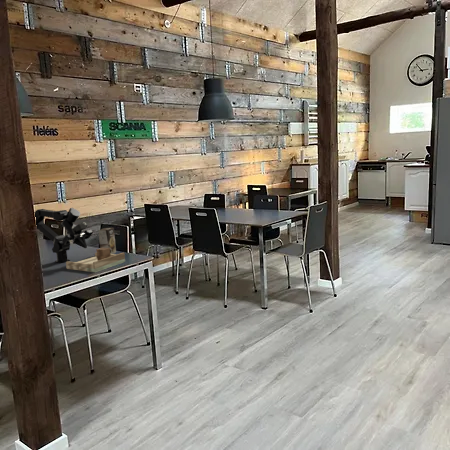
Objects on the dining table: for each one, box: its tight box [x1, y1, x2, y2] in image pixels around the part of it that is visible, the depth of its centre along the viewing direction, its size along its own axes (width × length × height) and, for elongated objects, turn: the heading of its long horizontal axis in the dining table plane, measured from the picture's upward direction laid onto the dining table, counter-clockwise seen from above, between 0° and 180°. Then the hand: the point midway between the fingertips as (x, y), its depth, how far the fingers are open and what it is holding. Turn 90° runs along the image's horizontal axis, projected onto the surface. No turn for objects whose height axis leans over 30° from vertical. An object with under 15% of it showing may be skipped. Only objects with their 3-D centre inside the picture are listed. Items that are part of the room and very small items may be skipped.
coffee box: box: [98, 227, 117, 254], centre depth 283 cm, size 9×6×16 cm
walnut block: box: [96, 247, 110, 260], centre depth 253 cm, size 5×5×8 cm
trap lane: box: [65, 251, 126, 273], centre depth 257 cm, size 22×23×6 cm
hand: (86, 247), depth 259 cm, fingers closed
